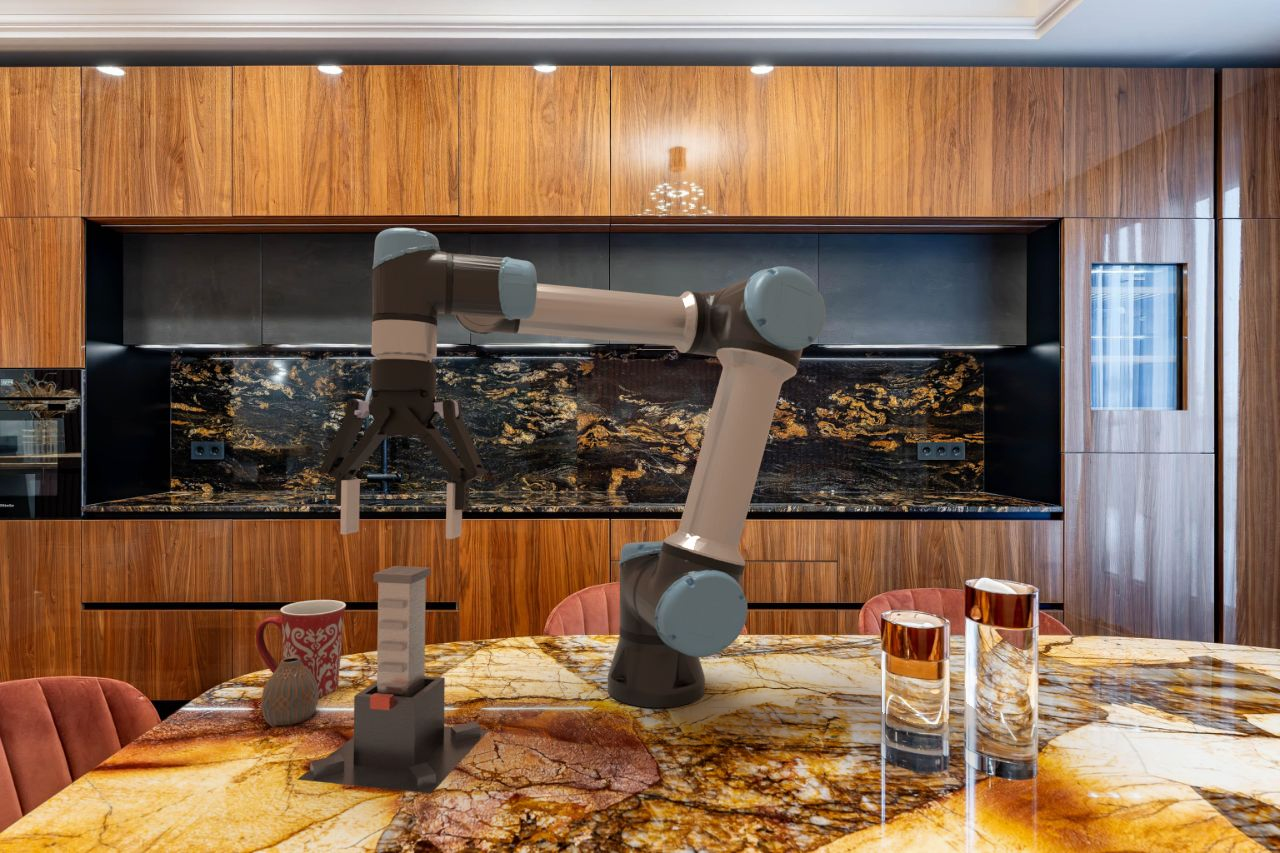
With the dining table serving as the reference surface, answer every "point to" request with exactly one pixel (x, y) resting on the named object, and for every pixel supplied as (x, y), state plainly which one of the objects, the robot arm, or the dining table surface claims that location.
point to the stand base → (398, 742)
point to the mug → (309, 639)
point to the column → (401, 630)
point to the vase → (289, 694)
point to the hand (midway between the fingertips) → (401, 535)
